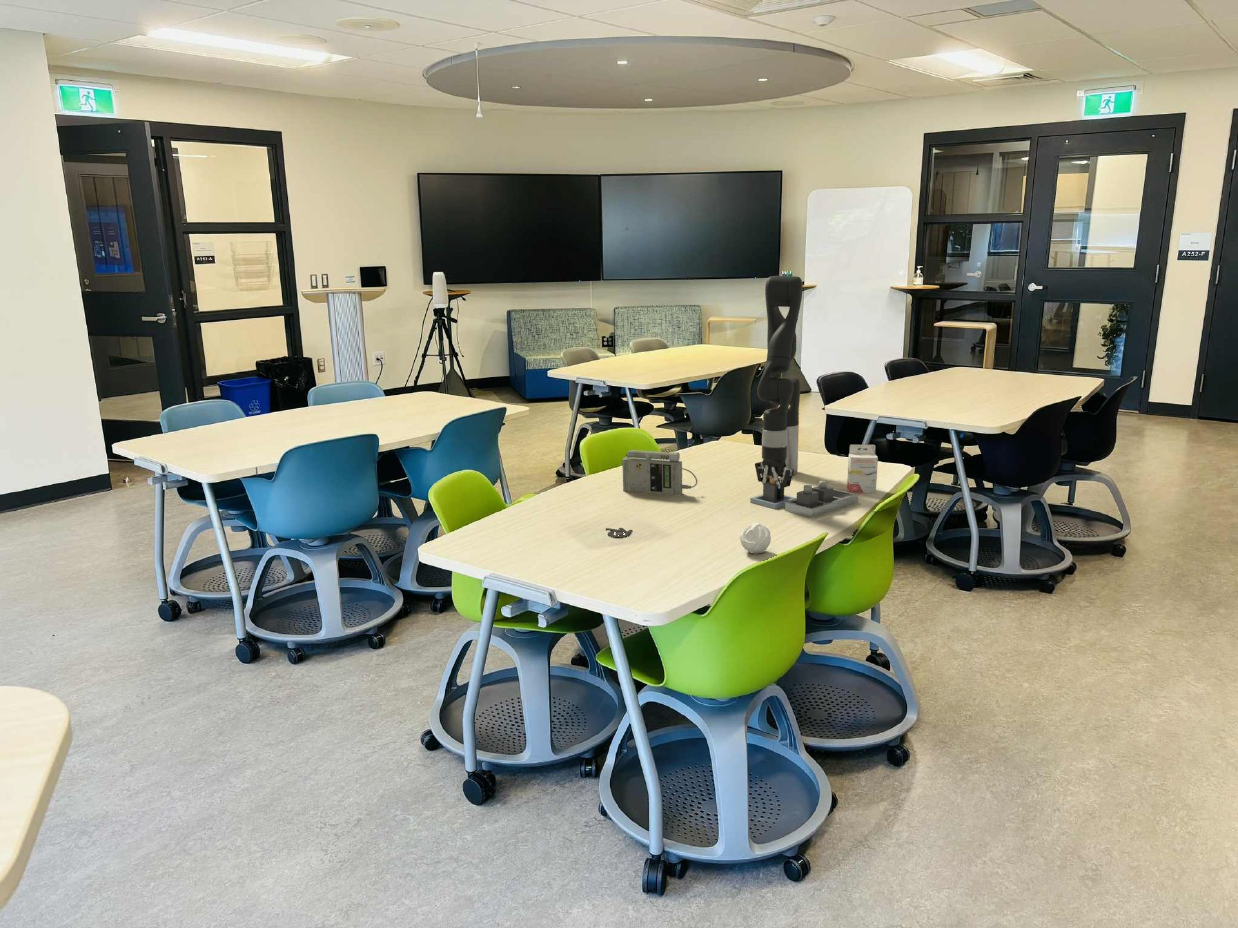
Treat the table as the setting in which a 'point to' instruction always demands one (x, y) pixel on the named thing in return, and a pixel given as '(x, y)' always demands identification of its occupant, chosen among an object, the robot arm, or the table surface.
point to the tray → (760, 501)
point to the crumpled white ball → (755, 538)
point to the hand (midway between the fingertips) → (773, 497)
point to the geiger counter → (653, 473)
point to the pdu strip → (823, 504)
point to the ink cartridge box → (862, 469)
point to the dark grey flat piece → (618, 533)
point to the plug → (770, 491)
